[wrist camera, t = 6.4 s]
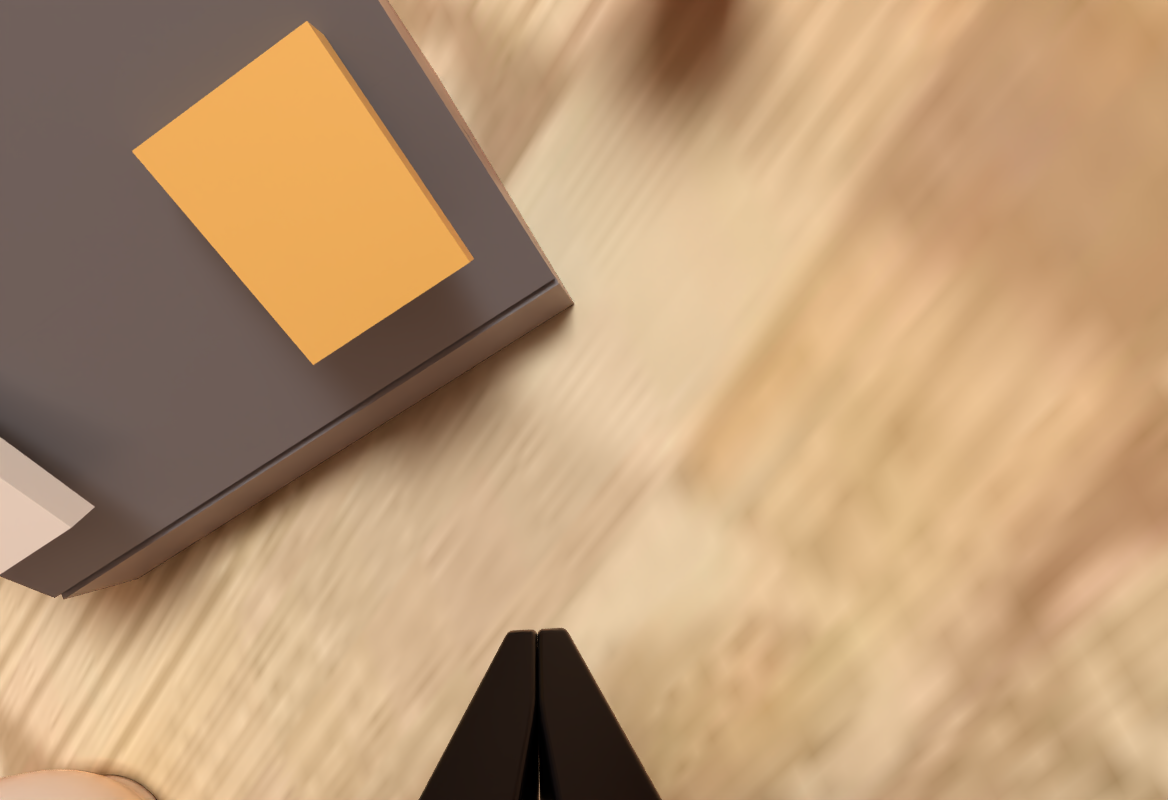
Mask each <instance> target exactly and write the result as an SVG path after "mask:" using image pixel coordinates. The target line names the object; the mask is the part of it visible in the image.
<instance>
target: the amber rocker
mask: <svg viewBox="0 0 1168 800" xmlns="http://www.w3.org/2000/svg"><path fill="white" fill-rule="evenodd" d="M132 152H133V153H134V154H135V156H136V157H137V158H138V159H139V160H140V161H141V163H142V164H143V165H144V166H145V167H146V168H147V170H148V171H149V172H150V173H151V174H152V176H153V177H154V178H155V179H156V180H157V181H158V183H159V184H160V185H161V186H162V187H163V189H164V190H165V191H166V192H167V193H168V194H169V196H170V197H171V198H172V199H173V200H174V202H175V203H176V204H177V205H178V206H179V207H180V209H181V210H182V211H183V212H184V213H185V214H186V216H187V217H188V218H189V219H190V220H191V222H192V223H193V224H194V225H195V226H196V227H197V229H198V230H199V231H200V232H201V233H202V235H203V236H204V237H205V238H206V239H207V240H208V242H209V243H210V244H211V245H212V246H213V247H214V249H215V250H216V251H217V252H218V253H219V255H220V256H221V257H222V258H223V259H224V260H225V262H226V263H227V264H228V265H229V266H230V268H231V269H232V270H233V271H234V272H235V273H236V275H237V276H238V277H239V278H240V279H241V281H242V282H243V283H244V284H245V285H246V286H247V288H248V289H249V290H250V291H251V292H252V293H253V295H254V296H255V297H256V298H257V299H258V301H259V302H260V303H261V304H262V305H263V306H264V308H265V309H266V310H267V311H268V312H269V314H270V315H271V316H272V317H273V318H274V319H275V321H276V322H277V323H278V324H279V325H280V326H281V328H282V329H283V330H284V331H285V332H286V334H287V335H288V336H289V337H290V338H291V339H292V341H293V342H294V343H295V344H296V345H297V347H298V348H299V349H300V350H301V351H302V352H303V354H304V355H305V356H306V357H307V358H308V360H309V361H310V362H311V363H312V364H313V365H314V364H316V363H317V362H319V361H320V360H322V359H323V358H325V357H326V356H328V355H329V354H331V353H333V352H334V351H336V350H337V349H339V348H340V347H342V346H343V345H345V344H346V343H348V342H349V341H351V340H352V339H354V338H355V337H357V336H358V335H360V334H361V333H363V332H365V331H366V330H368V329H369V328H371V327H372V326H374V325H375V324H377V323H378V322H380V321H381V320H383V319H384V318H386V317H387V316H389V315H390V314H392V313H393V312H395V311H397V310H398V309H400V308H401V307H403V306H404V305H406V304H407V303H409V302H410V301H412V300H413V299H415V298H416V297H418V296H419V295H421V294H422V293H424V292H425V291H427V290H429V289H430V288H432V287H433V286H435V285H436V284H438V283H439V282H441V281H442V280H444V279H445V278H447V277H448V276H450V275H451V274H453V273H454V272H456V271H457V270H459V269H461V268H462V267H464V266H465V265H467V264H468V263H470V262H471V261H472V260H473V259H474V258H473V256H472V255H471V253H470V252H469V250H468V249H467V247H466V246H465V244H464V243H463V241H462V240H461V238H460V237H459V235H458V234H457V232H456V231H455V229H454V228H453V226H452V225H451V223H450V222H449V221H448V219H447V218H446V216H445V215H444V213H443V212H442V210H441V209H440V207H439V206H438V204H437V203H436V201H435V200H434V198H433V197H432V195H431V194H430V192H429V191H428V189H427V188H426V186H425V185H424V183H423V182H422V180H421V179H420V177H419V176H418V174H417V173H416V171H415V170H414V168H413V167H412V165H411V164H410V162H409V161H408V159H407V158H406V156H405V155H404V153H403V152H402V150H401V149H400V147H399V146H398V144H397V143H396V142H395V140H394V139H393V137H392V136H391V134H390V133H389V131H388V130H387V128H386V127H385V125H384V124H383V122H382V121H381V119H380V118H379V116H378V115H377V113H376V112H375V110H374V109H373V107H372V106H371V104H370V103H369V101H368V100H367V98H366V97H365V95H364V94H363V92H362V91H361V89H360V88H359V86H358V85H357V83H356V82H355V80H354V79H353V77H352V76H351V74H350V73H349V71H348V70H347V68H346V67H345V65H344V64H343V63H342V61H341V60H340V58H339V57H338V55H337V54H336V52H335V51H334V49H333V48H332V46H331V45H330V43H329V42H328V40H327V39H326V37H325V36H324V34H322V33H321V32H320V31H319V30H317V29H316V28H315V27H314V26H313V25H311V24H310V23H309V22H308V21H306V22H305V23H303V24H302V25H301V26H299V27H298V28H297V29H295V30H294V31H292V32H291V33H290V34H288V35H287V36H286V37H284V38H283V39H282V40H280V41H279V42H278V43H276V44H275V45H274V46H272V47H271V48H270V49H268V50H267V51H266V52H264V53H263V54H262V55H260V56H259V57H258V58H256V59H255V60H254V61H252V62H251V63H249V64H248V65H247V66H245V67H244V68H243V69H241V70H240V71H239V72H237V73H236V74H235V75H233V76H232V77H231V78H229V79H228V80H227V81H225V82H224V83H223V84H221V85H220V86H219V87H217V88H216V89H215V90H213V91H212V92H211V93H209V94H208V95H206V96H205V97H204V98H202V99H201V100H200V101H198V102H197V103H196V104H194V105H193V106H192V107H190V108H189V109H188V110H186V111H185V112H184V113H182V114H181V115H180V116H178V117H177V118H176V119H174V120H173V121H172V122H170V123H169V124H168V125H166V126H165V127H163V128H162V129H161V130H159V131H158V132H157V133H155V134H154V135H153V136H151V137H150V138H149V139H147V140H146V141H145V142H143V143H142V144H141V145H139V146H138V147H137V148H135V149H134V150H133V151H132Z"/></svg>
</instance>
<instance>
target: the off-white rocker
mask: <svg viewBox="0 0 1168 800" xmlns="http://www.w3.org/2000/svg"><path fill="white" fill-rule="evenodd" d="M93 508H94V506H93V505H92V504H90V503H89V502H88V501H86V500H85V499H84V498H82V497H81V496H80V495H78V494H77V493H75V492H74V491H73V490H71V489H70V488H69V487H67V486H66V485H65V484H63V483H62V482H61V481H59V480H58V479H56V478H55V477H54V476H52V475H51V474H50V473H48V472H47V471H46V470H44V469H43V468H42V467H40V466H39V465H37V464H36V463H35V462H33V461H32V460H31V459H29V458H28V457H27V456H25V455H24V454H23V453H21V452H20V451H18V450H17V449H16V448H14V447H13V446H12V445H10V444H9V443H8V442H6V441H5V440H4V439H2V438H1V437H0V574H1V573H3V572H4V571H6V570H8V569H9V568H11V567H12V566H14V565H15V564H17V563H18V562H20V561H21V560H23V559H24V558H26V557H27V556H29V555H30V554H32V553H33V552H35V551H37V550H38V549H40V548H41V547H43V546H44V545H46V544H47V543H49V542H50V541H52V540H53V539H55V538H56V537H58V536H59V535H61V534H62V533H64V532H66V531H67V530H69V529H70V528H72V527H73V526H74V525H75V524H76V523H77V522H78V521H80V520H81V519H82V518H83V517H84V516H85V515H86V514H87V513H89V512H90V511H91V510H92V509H93Z"/></svg>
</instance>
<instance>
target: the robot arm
mask: <svg viewBox="0 0 1168 800" xmlns="http://www.w3.org/2000/svg"><path fill="white" fill-rule="evenodd" d="M539 781H540V800H662V799H661V798H660V796H659V794H658V792H657V790H656V789H655V787H654V785H653V783H652V781H651V780H650V778H649V776H648V774H647V773H646V771H645V769H644V767H643V765H642V764H641V762H640V760H639V758H638V756H637V755H636V753H635V751H634V749H633V747H632V746H631V744H630V742H629V740H628V738H627V737H626V735H625V733H624V731H623V730H622V728H621V726H620V724H619V722H618V721H617V719H616V717H615V715H614V713H613V712H612V710H611V708H610V706H609V704H608V703H607V701H606V699H605V697H604V696H603V694H602V692H601V690H600V688H599V687H598V685H597V683H596V681H595V679H594V678H593V676H592V674H591V672H590V670H589V669H588V667H587V665H586V663H585V661H584V660H583V658H582V656H581V654H580V653H579V651H578V649H577V647H576V645H575V644H574V642H573V640H572V638H571V636H570V635H569V633H568V632H567V630H566V629H564V628H552V629H541V630H539V632H538V635H537V633H536V631H534V630H514V631H510V632H508V634H507V635H506V636H505V638H504V640H503V642H502V644H501V646H500V647H499V649H498V651H497V653H496V655H495V657H494V659H493V661H492V663H491V664H490V666H489V668H488V670H487V672H486V674H485V676H484V678H483V679H482V681H481V683H480V685H479V687H478V689H477V691H476V693H475V695H474V696H473V698H472V700H471V702H470V704H469V706H468V708H467V710H466V712H465V713H464V715H463V717H462V719H461V721H460V723H459V725H458V727H457V728H456V730H455V732H454V734H453V736H452V738H451V740H450V742H449V744H448V745H447V747H446V749H445V751H444V753H443V755H442V757H441V759H440V761H439V762H438V764H437V766H436V768H435V770H434V772H433V774H432V776H431V777H430V779H429V781H428V783H427V785H426V787H425V789H424V791H423V793H422V794H421V796H420V798H419V800H539Z"/></svg>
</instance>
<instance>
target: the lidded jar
mask: <svg viewBox="0 0 1168 800" xmlns="http://www.w3.org/2000/svg"><path fill="white" fill-rule="evenodd" d="M0 800H156V798H155V797H154V796H153V795H152V794H151V793H150V792H149V791H148V790H147V789H146V788H145V787H143V786H141V785H140V784H138V783H137V782H135V781H133V780H130V779H128V778H125V777H121V776H114V775H106V776H102V775H98V774H94V773H89V772H84V771H79V770H42V771H36V772H30V773H24V774H19V775H13V776H8V777H4V778H0Z"/></svg>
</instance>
